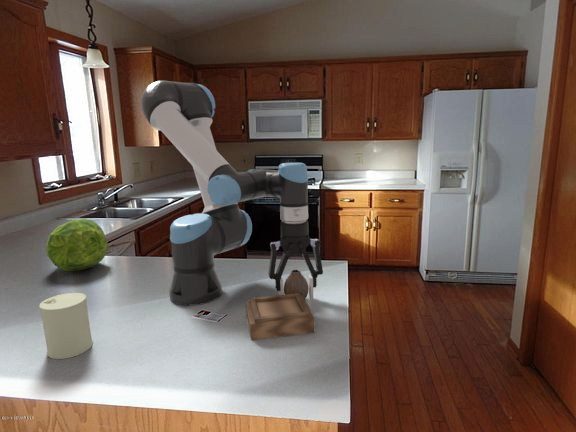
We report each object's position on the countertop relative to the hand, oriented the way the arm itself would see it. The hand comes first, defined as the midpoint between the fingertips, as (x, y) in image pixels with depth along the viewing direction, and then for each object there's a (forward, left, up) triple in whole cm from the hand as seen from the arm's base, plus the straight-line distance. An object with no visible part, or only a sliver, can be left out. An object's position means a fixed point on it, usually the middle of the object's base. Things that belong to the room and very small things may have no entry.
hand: (296, 299), depth 113 cm
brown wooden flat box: (-7, -12, 0) cm, 14 cm away
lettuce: (-72, +47, 0) cm, 86 cm away
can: (-55, -13, 0) cm, 57 cm away
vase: (0, 0, 0) cm, 0 cm away
